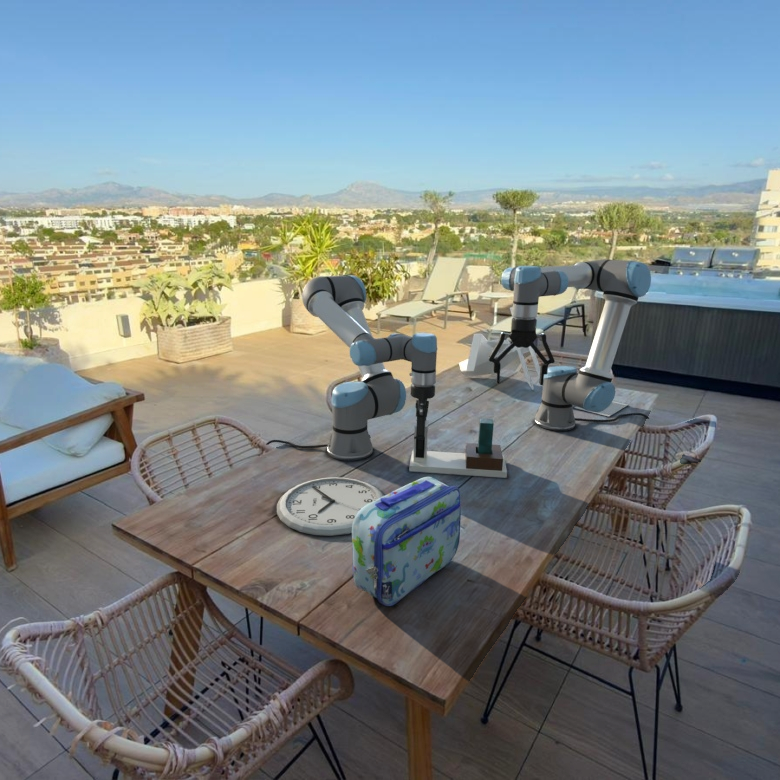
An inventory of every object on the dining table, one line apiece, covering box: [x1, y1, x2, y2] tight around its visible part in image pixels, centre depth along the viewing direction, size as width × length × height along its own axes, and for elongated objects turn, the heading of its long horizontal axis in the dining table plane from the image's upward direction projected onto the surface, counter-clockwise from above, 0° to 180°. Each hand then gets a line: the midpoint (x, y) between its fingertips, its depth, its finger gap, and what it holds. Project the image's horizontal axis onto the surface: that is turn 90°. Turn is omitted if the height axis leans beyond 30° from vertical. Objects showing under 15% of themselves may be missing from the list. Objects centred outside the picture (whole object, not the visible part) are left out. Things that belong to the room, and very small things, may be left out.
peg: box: [477, 418, 495, 454], centre depth 164 cm, size 4×4×14 cm
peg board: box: [408, 419, 508, 479], centre depth 165 cm, size 30×12×14 cm, turn 83°
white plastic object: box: [458, 306, 544, 391], centre depth 259 cm, size 37×45×31 cm
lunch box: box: [351, 476, 462, 607], centre depth 111 cm, size 26×11×21 cm, turn 135°
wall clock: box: [276, 476, 385, 537], centre depth 142 cm, size 30×2×30 cm
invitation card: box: [573, 400, 629, 418], centre depth 226 cm, size 21×1×15 cm
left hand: (420, 452), depth 168 cm, fingers closed on peg board, 6 cm apart
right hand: (519, 383), depth 168 cm, fingers open, 13 cm apart
